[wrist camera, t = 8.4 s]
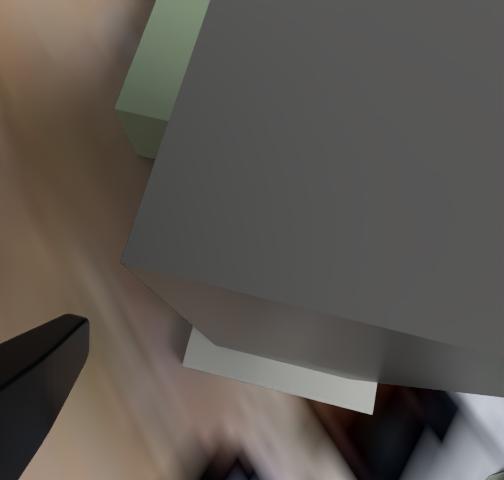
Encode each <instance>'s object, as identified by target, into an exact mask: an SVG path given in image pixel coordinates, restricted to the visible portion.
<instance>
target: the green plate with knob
mask: <svg viewBox="0 0 504 480" xmlns="http://www.w3.org/2000/svg"><path fill="white" fill-rule="evenodd" d="M209 2H210V0H156V2H155V5H154V7H153V10H152V12H151V15H150V17H149V20H148V23H147V25H146V28H145V30H144V33H143V35H142V38H141V41H140V43H139V46H138V48H137V51H136V53H135V56H134V59H133V61H132V64H131V66H130V69H129V71H128V74H127V76H126V79H125V82H124V84H123V87H122V89H121V92H120V94H119V97H118V100H117V102H116V105H115V107H114V110H115V112H116V114H117V116H118V118H119V120H120V122H121V124H122V126H123V128H124V130H125V132H126V134H127V136H128V138H129V140H130V142H131V144H132V146H133V148H134V151H135V153H136V155H139V156H143V157H147V158H151V159H156V157H157V154H158V151H159V148H160V145H161V142H162V139H163V136H164V133H165V130H166V127H167V124H168V122H169V119H170V116H171V113H172V110H173V107H174V104H175V101H176V98H177V95H178V92H179V89H180V87H181V84H182V81H183V78H184V75H185V72H186V69H187V66H188V63H189V60H190V57H191V54H192V52H193V49H194V46H195V43H196V40H197V37H198V34H199V31H200V28H201V25H202V22H203V19H204V17H205V14H206V11H207V8H208V5H209ZM182 366H183V367H187V368H191V369H195V370H199V371H203V372H207V373H211V374H215V375H219V376H223V377H226V378H230V379H234V380H238V381H242V382H246V383H250V384H254V385H258V386H262V387H265V388H269V389H273V390H277V391H281V392H285V393H289V394H293V395H297V396H301V397H305V398H308V399H312V400H316V401H320V402H324V403H328V404H332V405H336V406H340V407H344V408H348V409H351V410H355V411H359V412H363V413H367V414H371V415H372V414H373V408H374V401H375V394H376V387H377V383H376V382H368V381H359V380H351V379H346V378H342V377H338V376H334V375H330V374H326V373H322V372H318V371H314V370H310V369H307V368H303V367H299V366H295V365H291V364H287V363H283V362H279V361H275V360H271V359H267V358H263V357H259V356H255V355H251V354H247V353H243V352H239V351H235V350H231V349H227V348H223V347H220V346H216V345H215V344H213V343H212V342H211V341H210V340H209V339H208V338H206V337H205V336H204V335H203V334H202V333H201V332H200V331H198V330H197V329H196V328H195V327H194V326H193V328H192V331H191V335H190V339H189V342H188V346H187V349H186V353H185V356H184V360H183V364H182Z"/></svg>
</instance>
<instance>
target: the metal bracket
mask: <svg viewBox="0 0 504 480" xmlns="http://www.w3.org/2000/svg"><path fill="white" fill-rule="evenodd" d="M486 480H504V472H502V473H498V474H494V475H491V476H488V478H487V479H486Z"/></svg>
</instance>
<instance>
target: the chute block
mask: <svg viewBox="0 0 504 480" xmlns="http://www.w3.org/2000/svg"><path fill="white" fill-rule="evenodd" d="M120 263H121V264H122V265H123V266H124V267H126V268H127V269H128V270H129V271H130V272H131V273H133V274H134V275H135V276H136V277H137V278H138V279H139V280H141V281H142V282H143V283H144V284H145V285H146V286H148V287H149V288H150V289H151V290H152V291H153V292H154V293H156V294H157V295H158V296H159V297H160V298H161V299H163V300H164V301H165V302H166V303H167V304H168V305H170V306H171V307H172V308H173V309H174V310H175V311H176V312H178V313H179V314H180V315H181V316H182V317H183V318H185V319H186V320H187V321H188V322H189V323H190V324H191V325H193V326H194V327H195V328H196V329H197V330H198V331H200V332H201V333H202V334H203V335H204V336H205V337H206V338H208V339H209V340H210V341H211V342H212V343H213V344H215V345H216V346H220V347H223V348H227V349H231V350H235V351H239V352H243V353H247V354H251V355H255V356H259V357H263V358H267V359H271V360H275V361H279V362H283V363H287V364H291V365H295V366H299V367H303V368H307V369H310V370H314V371H318V372H322V373H326V374H330V375H334V376H338V377H342V378H346V379H351V380H359V381H368V382H376V383H385V384H393V385H402V386H411V387H419V388H428V389H436V390H445V391H454V392H462V393H471V394H479V395H488V396H496V397H504V0H210V2H209V5H208V8H207V11H206V14H205V17H204V19H203V22H202V25H201V28H200V31H199V34H198V37H197V40H196V43H195V46H194V49H193V52H192V54H191V57H190V60H189V63H188V66H187V69H186V72H185V75H184V78H183V81H182V84H181V87H180V89H179V92H178V95H177V98H176V101H175V104H174V107H173V110H172V113H171V116H170V119H169V122H168V124H167V127H166V130H165V133H164V136H163V139H162V142H161V145H160V148H159V151H158V154H157V157H156V159H155V162H154V165H153V168H152V171H151V174H150V177H149V180H148V183H147V186H146V189H145V191H144V194H143V197H142V200H141V203H140V206H139V209H138V212H137V215H136V218H135V221H134V224H133V226H132V229H131V232H130V235H129V238H128V241H127V244H126V247H125V250H124V253H123V256H122V259H121V261H120Z"/></svg>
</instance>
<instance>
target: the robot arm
mask: <svg viewBox="0 0 504 480" xmlns="http://www.w3.org/2000/svg"><path fill="white" fill-rule="evenodd" d="M89 326H90V325H89V320H88V319H87V318H85V317H82V316H78V315H74V314H65V315H62V316H60V317H58V318H56V319H53V320H51V321H49V322H47V323H45V324H42V325H40V326H38V327H36V328H34V329H31V330H29V331H27V332H25V333H23V334H21V335H18V336H16V337H14V338H12V339H10V340H7V341H5V342H3V343H1V344H0V480H18V479H19V478H20V476H21V475H22V473H23V472H24V470H25V469H26V467H27V466H28V464H29V463H30V461H31V460H32V458H33V457H34V455H35V453H36V452H37V450H38V449H39V447H40V446H41V444H42V443H43V441H44V439H45V438H46V436H47V435H48V433H49V431H50V429H51V427H52V426H53V424H54V422H55V420H56V418H57V416H58V414H59V412H60V410H61V409H62V407H63V405H64V403H65V401H66V399H67V397H68V395H69V393H70V391H71V389H72V387H73V385H74V383H75V382H76V380H77V378H78V376H79V374H80V372H81V370H82V368H83V366H84V364H85V362H86V360H87V357H88V353H89Z"/></svg>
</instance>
